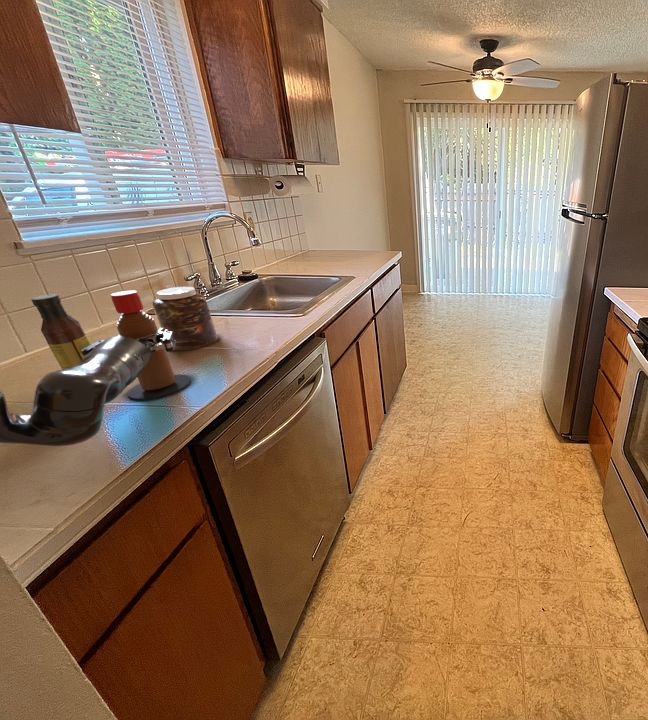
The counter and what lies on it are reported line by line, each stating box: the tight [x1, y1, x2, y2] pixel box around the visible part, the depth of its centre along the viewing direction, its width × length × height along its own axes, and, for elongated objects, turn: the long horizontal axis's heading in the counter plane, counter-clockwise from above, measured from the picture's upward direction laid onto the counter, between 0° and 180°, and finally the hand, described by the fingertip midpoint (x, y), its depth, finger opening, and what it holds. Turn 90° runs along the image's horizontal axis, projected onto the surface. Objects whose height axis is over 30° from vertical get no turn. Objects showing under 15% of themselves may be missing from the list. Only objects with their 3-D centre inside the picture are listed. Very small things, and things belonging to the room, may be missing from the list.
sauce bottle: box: [30, 293, 92, 370], centre depth 87 cm, size 7×6×20 cm
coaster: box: [127, 374, 192, 401], centre depth 87 cm, size 11×11×1 cm
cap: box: [110, 290, 144, 315], centre depth 79 cm, size 4×4×4 cm
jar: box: [152, 286, 219, 351], centre depth 108 cm, size 12×12×15 cm
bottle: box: [115, 310, 176, 390], centre depth 82 cm, size 6×6×20 cm
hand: (145, 334), depth 84 cm, fingers closed on bottle, 6 cm apart
